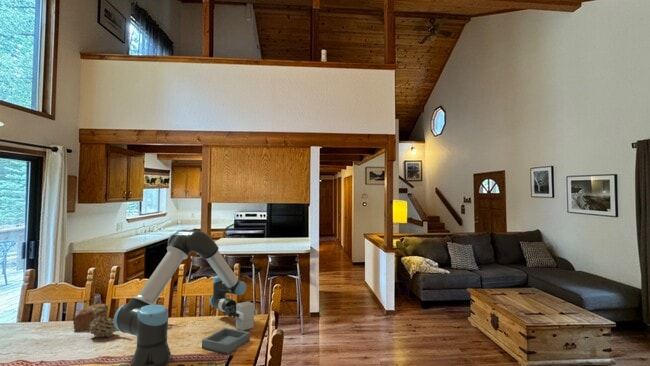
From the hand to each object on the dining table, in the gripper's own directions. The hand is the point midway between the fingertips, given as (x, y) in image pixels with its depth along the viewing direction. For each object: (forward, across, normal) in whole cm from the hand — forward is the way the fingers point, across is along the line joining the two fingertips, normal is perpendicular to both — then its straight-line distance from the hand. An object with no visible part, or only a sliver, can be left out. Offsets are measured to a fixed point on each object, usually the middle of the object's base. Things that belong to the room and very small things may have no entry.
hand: (250, 314), depth 167 cm
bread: (-79, +54, -10) cm, 96 cm away
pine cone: (-50, +52, -10) cm, 72 cm away
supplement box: (-5, 0, -8) cm, 9 cm away
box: (+3, +15, -10) cm, 18 cm away
